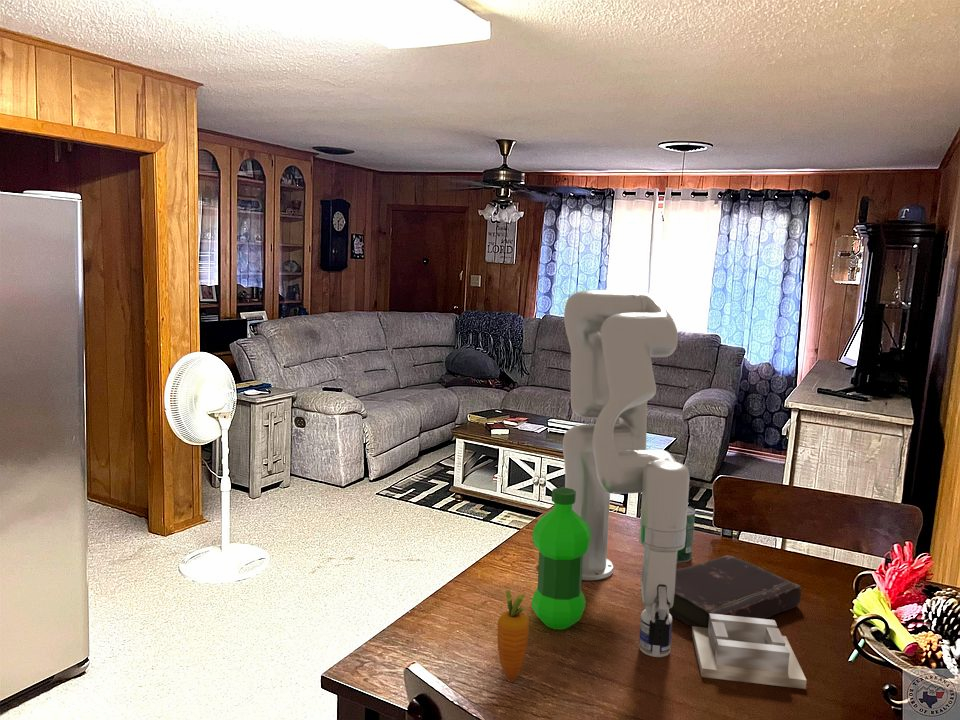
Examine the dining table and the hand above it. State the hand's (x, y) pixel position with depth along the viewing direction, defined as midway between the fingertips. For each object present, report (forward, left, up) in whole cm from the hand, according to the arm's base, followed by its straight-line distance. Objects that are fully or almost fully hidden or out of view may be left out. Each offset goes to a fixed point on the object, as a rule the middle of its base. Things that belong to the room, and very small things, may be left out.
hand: (656, 630), depth 128 cm
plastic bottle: (-17, +6, -4) cm, 19 cm away
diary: (+14, +20, -4) cm, 25 cm away
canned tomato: (+7, +43, -4) cm, 44 cm away
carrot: (-23, -15, -4) cm, 28 cm away
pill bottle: (0, 0, -4) cm, 4 cm away
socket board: (+15, 0, -4) cm, 15 cm away
